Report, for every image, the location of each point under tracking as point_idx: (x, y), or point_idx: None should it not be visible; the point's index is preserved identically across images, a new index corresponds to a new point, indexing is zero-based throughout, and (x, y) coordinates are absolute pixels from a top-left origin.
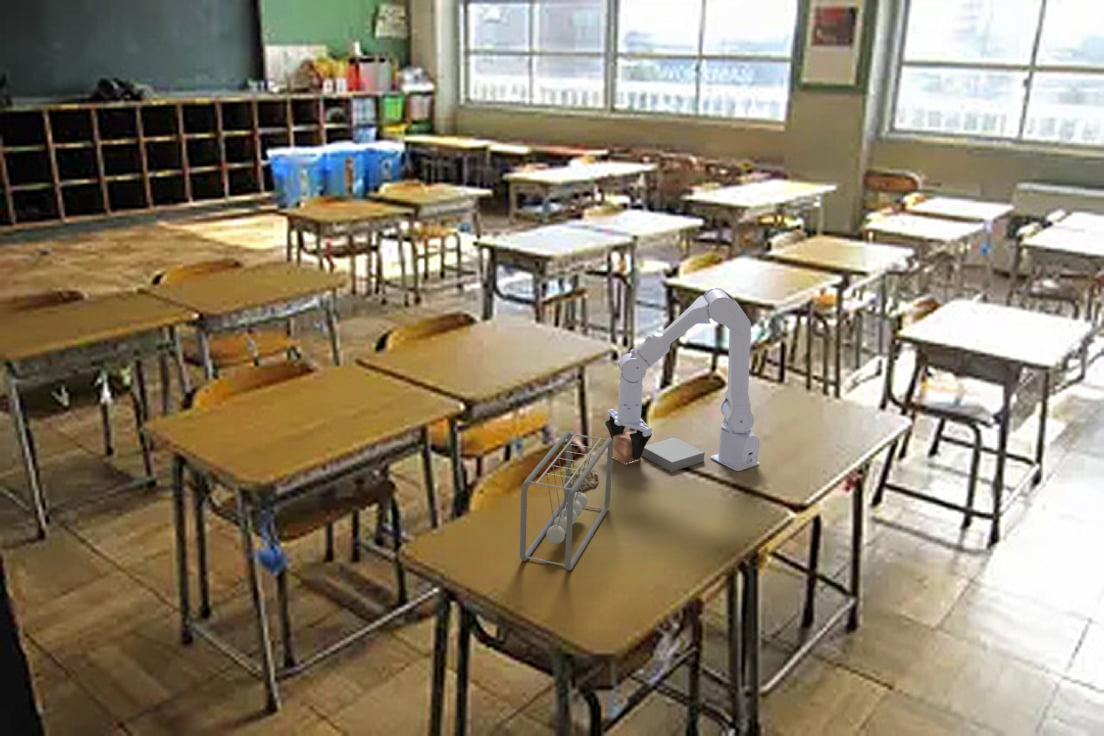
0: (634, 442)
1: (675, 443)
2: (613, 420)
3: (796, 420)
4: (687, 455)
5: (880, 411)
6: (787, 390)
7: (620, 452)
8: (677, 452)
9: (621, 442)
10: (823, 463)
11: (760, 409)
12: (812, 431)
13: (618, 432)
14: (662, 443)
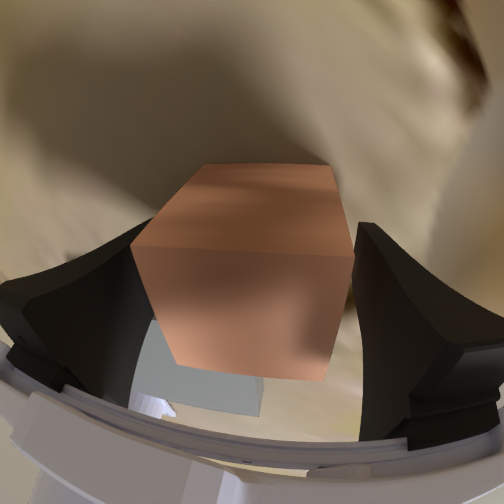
0: (51, 273)
1: (215, 399)
2: (452, 419)
3: (241, 466)
4: None
5: None
6: None
7: (240, 187)
8: (145, 364)
9: (210, 233)
10: None
11: (295, 470)
12: (204, 458)
13: (378, 334)
14: (234, 385)
